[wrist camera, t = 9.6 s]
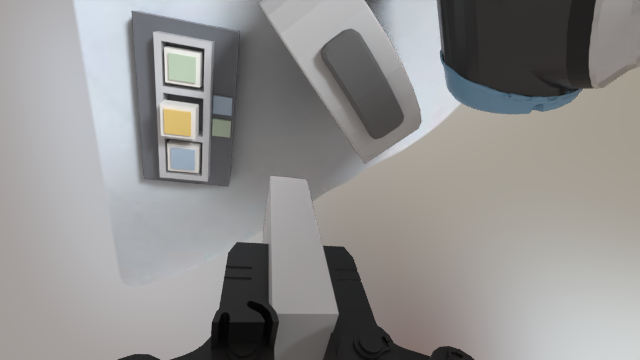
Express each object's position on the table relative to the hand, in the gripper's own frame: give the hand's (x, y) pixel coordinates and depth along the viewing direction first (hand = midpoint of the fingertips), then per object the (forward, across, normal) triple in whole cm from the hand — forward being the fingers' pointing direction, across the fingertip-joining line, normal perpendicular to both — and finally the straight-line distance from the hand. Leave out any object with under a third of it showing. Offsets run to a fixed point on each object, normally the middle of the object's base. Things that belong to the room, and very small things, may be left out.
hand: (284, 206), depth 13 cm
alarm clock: (+35, +8, +3) cm, 36 cm away
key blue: (+32, -11, -13) cm, 36 cm away
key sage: (+32, -11, -1) cm, 34 cm away
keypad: (+34, -11, -7) cm, 37 cm away
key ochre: (+30, -11, -7) cm, 32 cm away
